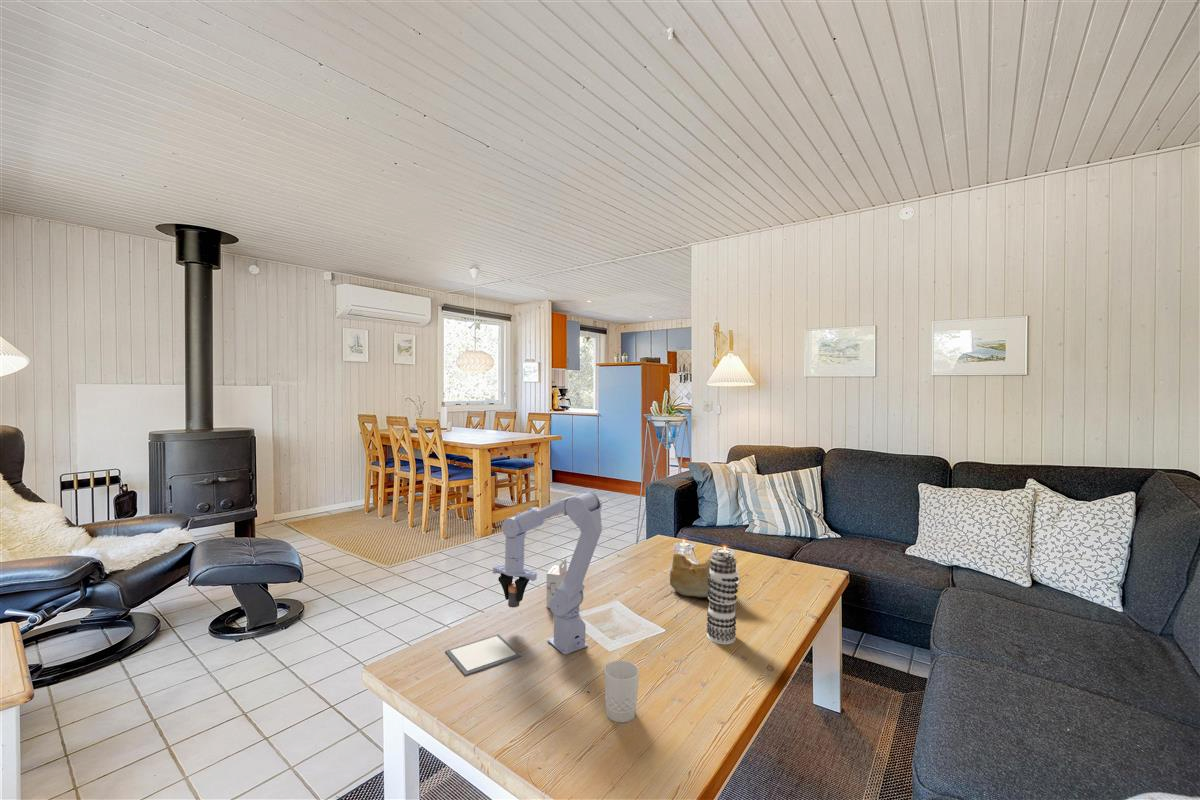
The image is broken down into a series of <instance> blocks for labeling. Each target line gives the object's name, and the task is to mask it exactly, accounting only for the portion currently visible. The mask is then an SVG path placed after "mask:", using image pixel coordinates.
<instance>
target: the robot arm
mask: <svg viewBox="0 0 1200 800" xmlns="http://www.w3.org/2000/svg"><path fill="white" fill-rule="evenodd" d="M602 507H603V505H602V502H601V500H600V499H599V497H598V496H597V494H596V493H595V492H592V491H585V492H584V493H579V494H575V495H570V496H566V497H564V498H562V499H559V500H556V502H553V503H550V504H548V505H546V506H544V507H542V508H540V507H538V506H530V507H527V508H526V510H525V511H523V512H520V511H519V512H517V513H516V514H515V516H512V517H508V518H506V519H505V520H503V521H502V524H501V531H502V533H503V535H504V536H505V545H504V546H505V547H504V548H505V549H504V551H505V552H504V554H505V555H504V562H505V563H504V565H494V566H493V567H492V574H494V575H495V574H500V575H499V577H497V578H498V582H499V583H500V585H501V588H502V590H503V594H504V598H505V600H506V601H508V585H509V584H513V579H514V577H517V579H516V580H514V583H515V585H516V590H517V602H519V603H521V602H522V601H523V597H524V594H525V592H526V588H527V586H528V585H529V584H528V583H530V582H529V581H532V582H534V581H536V580H537V578H538V575H537V574H538V572H534V571H531V570H529V569H528V568H525V538H526V533H527V532H529V531H531V530H534V529H536V528H538V527H541V526H543V525H544V523H545V521H546V519H548V518H551V517H553V516H556V515H558V514H561V513H562V515H564V516H568V517H569V518H570V521H572V522H573V524H575V525H576V527H577V528H578V529H579V531H580V535H579V537H578V540H577V543H576V546H575V549H574V552H573V554H572V557H571V559H570V562H569V565H568V566H567V573H566V576H565V579H564V581H563V582H562V583H561V585H560V586H559V587H558V589H557V591H556V593H555V595H553V596H552V597H551V599H550V602H549V605H550V608H549V609H550V611H551V613H552V614H553V637H550V638H547V640H546V641H547V642H548V643H549V644H550V645H552V647H554V648H555V649H557V650H559V652H561V653H562V654H563V655H568V654H571V653H573V652H576V651H579V650H582V649H584V648H587V647H588V643H586V623H585V622H584V621H583V620H582V618H581V616H580V605H581V604H582V603H583V601H584V589H585V585H584V579H585V577H586V574H587V571H588V568H589V566H590V563H591V561H592V558H593V555H594V553H595V550H596V547H597V544H598V541H599V540H600V537H601V534H602V530H603V525H602V517H601V516H602V515H601V511H602Z"/></svg>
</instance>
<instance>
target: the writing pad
mask: <svg viewBox="0 0 1200 800" xmlns="http://www.w3.org/2000/svg"><path fill="white" fill-rule="evenodd" d="M444 653H445V654H446V656H447V657H449V659H450V660H451V661H452V662H453V664H454V665H455V666H456V667H457V668H458V669H459V671H460V672H461V673H462V674H463V675H464V677H467V676H469V675H473V674H475V673H479V672H481V671H484V670H487V669H489V668H493V667H495V666H498V665H500V664H504V663H507V662H510V661H514V660H516V659H518V658H521V657H522V654H521V653H520V652H518V651H517V650H516V649H515V648H514V647H513V646H512V645H511V644H509V642H507V641H506V640H505V639H504V637H502V636H501V635H500V634H495V635H492V636H491V635H490V636H488V637H485V638H483V639H479V640H475V641H472V642H469V643H465V644H463V645H459V646H457V647H453V648H450V649H446V650H445V651H444Z"/></svg>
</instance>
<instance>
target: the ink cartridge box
mask: <svg viewBox="0 0 1200 800" xmlns="http://www.w3.org/2000/svg"><path fill="white" fill-rule="evenodd" d="M567 570H568V566H567V558H566V557H565V558H564V559H563V560H562V562H561V563H559V564H558V565H557V564H554V565H553V566H552V567H551V568H550V569H549V570H548V571H547V572H546V608H547V609H550V605H549V602H550V599H551V597H552V596H553V595H555V593H556V591H557V589H558V587H559V586H560V585H561V583H562V582H563V581H564V579H565V576H566V573H567Z"/></svg>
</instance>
